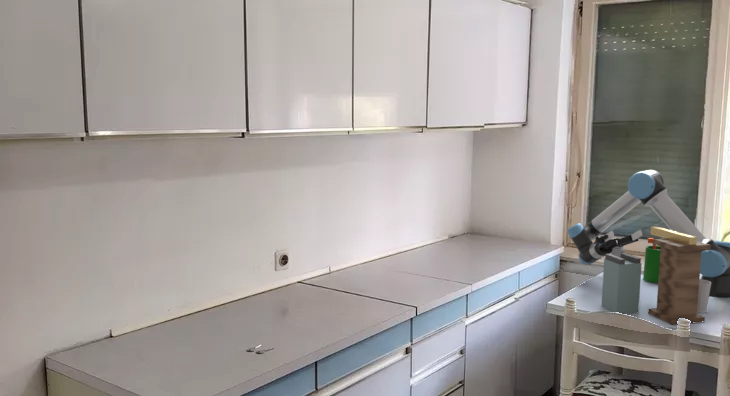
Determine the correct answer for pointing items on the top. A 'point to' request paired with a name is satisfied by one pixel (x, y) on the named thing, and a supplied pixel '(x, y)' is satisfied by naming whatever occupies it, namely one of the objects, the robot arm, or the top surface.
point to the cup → (703, 295)
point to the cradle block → (621, 283)
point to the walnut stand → (678, 281)
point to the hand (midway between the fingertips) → (627, 233)
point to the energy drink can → (618, 251)
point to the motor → (652, 262)
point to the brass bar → (674, 235)
